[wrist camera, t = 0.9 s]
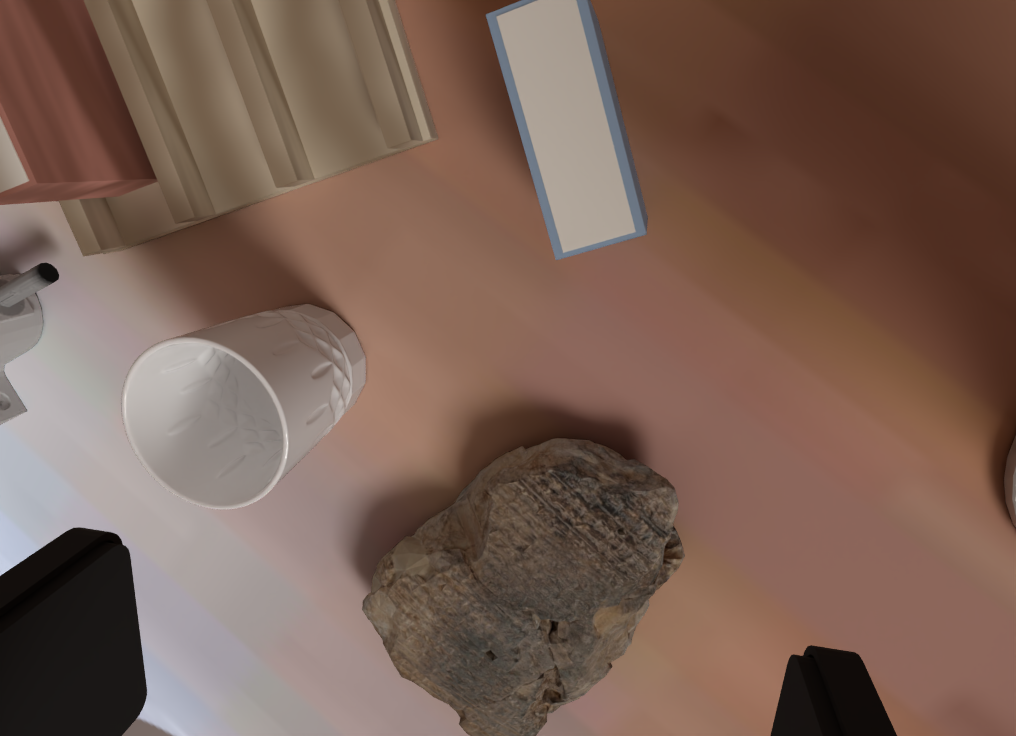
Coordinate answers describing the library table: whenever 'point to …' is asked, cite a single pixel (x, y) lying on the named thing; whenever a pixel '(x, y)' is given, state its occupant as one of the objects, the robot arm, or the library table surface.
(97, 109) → the book rack
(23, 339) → the grey machine model
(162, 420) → the white cup
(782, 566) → the library table surface
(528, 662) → the clay tablet
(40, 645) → the robot arm
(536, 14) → the blue book
